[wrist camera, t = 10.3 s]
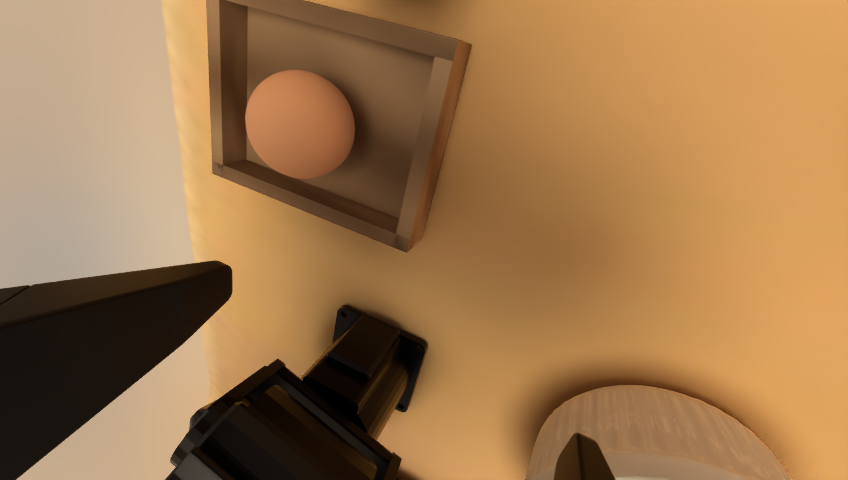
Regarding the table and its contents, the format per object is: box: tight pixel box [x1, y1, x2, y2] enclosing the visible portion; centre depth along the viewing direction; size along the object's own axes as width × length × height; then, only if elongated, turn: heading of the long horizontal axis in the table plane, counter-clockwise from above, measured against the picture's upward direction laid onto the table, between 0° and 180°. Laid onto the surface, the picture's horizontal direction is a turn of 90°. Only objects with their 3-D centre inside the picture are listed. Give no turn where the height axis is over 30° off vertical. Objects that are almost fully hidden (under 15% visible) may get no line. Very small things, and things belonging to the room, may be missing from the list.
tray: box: [206, 0, 472, 253], centre depth 19 cm, size 10×13×2 cm
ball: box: [245, 70, 355, 179], centre depth 18 cm, size 5×5×5 cm
